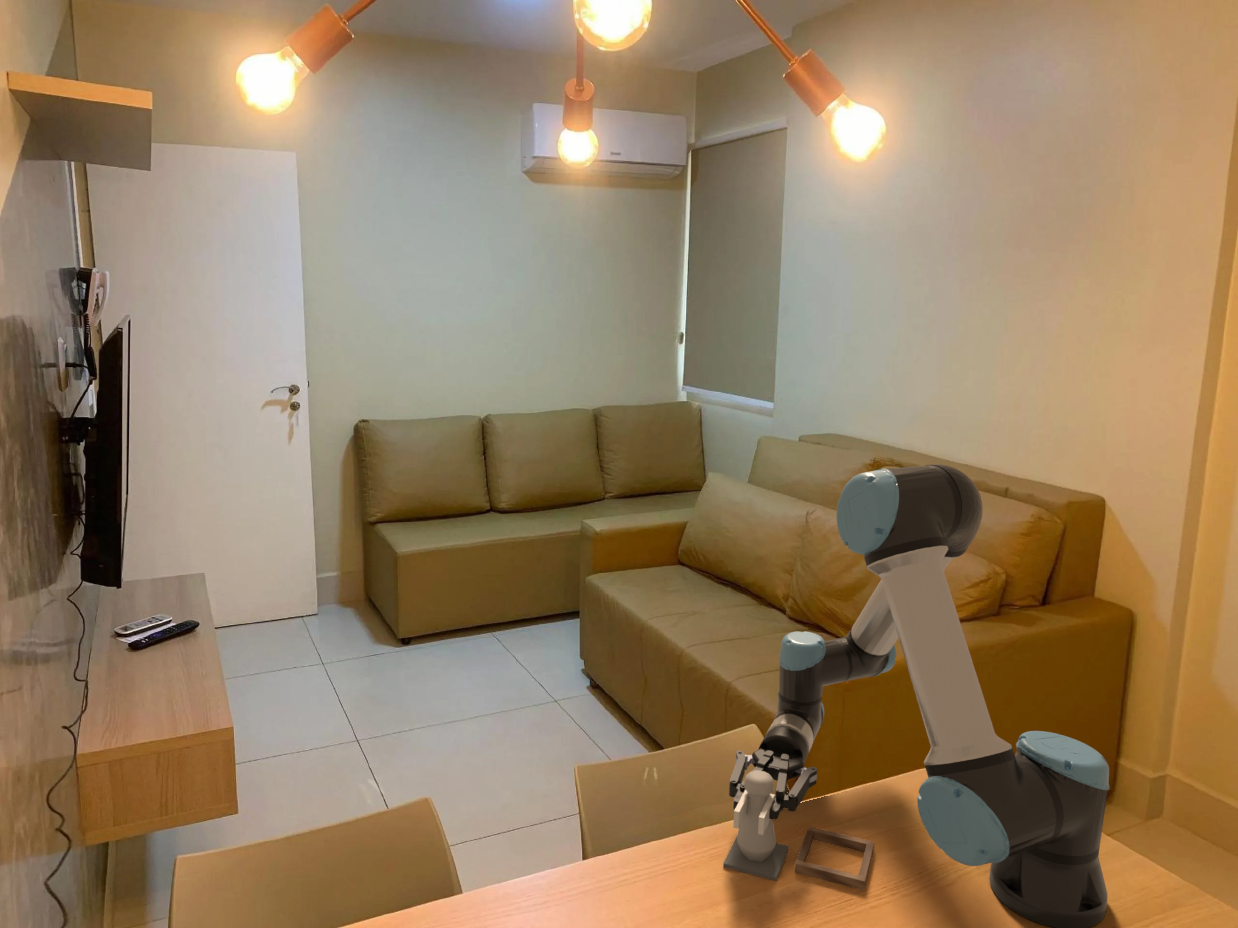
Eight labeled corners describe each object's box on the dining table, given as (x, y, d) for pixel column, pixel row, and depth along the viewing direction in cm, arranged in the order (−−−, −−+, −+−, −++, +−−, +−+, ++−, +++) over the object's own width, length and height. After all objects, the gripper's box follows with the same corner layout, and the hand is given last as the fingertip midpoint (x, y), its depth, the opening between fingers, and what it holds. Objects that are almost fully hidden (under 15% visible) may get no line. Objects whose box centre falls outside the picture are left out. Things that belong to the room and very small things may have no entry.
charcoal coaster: (788, 849, 138) (788, 845, 138) (776, 880, 131) (776, 877, 131) (737, 836, 141) (738, 833, 141) (723, 866, 134) (723, 862, 134)
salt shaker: (774, 867, 133) (778, 788, 130) (735, 863, 134) (738, 784, 131) (775, 843, 139) (779, 766, 136) (737, 839, 140) (740, 763, 137)
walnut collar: (873, 850, 138) (874, 841, 138) (864, 890, 129) (864, 881, 129) (808, 834, 142) (808, 825, 142) (794, 872, 133) (795, 863, 133)
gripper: (833, 777, 148) (802, 860, 127) (738, 756, 155) (694, 832, 133) (835, 735, 147) (805, 812, 126) (740, 716, 153) (696, 786, 132)
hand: (748, 822), depth 130 cm, fingers closed on salt shaker, 3 cm apart
